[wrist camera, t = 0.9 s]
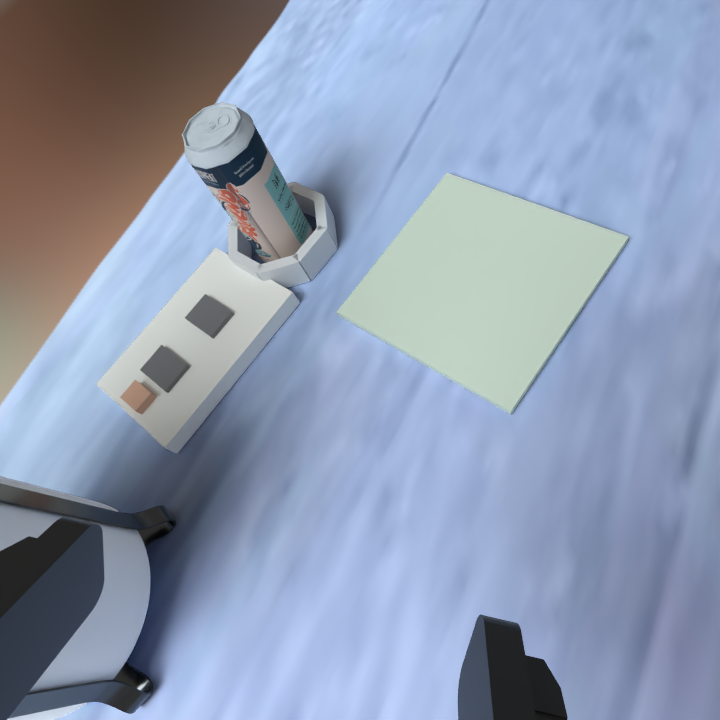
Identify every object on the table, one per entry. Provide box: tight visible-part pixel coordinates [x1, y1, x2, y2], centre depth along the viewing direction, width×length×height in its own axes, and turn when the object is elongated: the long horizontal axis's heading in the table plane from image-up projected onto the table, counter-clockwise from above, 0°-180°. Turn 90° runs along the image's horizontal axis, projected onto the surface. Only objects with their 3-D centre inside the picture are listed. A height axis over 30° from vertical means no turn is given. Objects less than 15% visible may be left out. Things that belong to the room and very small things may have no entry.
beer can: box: [182, 102, 314, 263], centre depth 37 cm, size 5×5×12 cm
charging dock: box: [97, 182, 338, 454], centre depth 39 cm, size 22×9×2 cm, turn 141°
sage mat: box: [337, 173, 629, 415], centre depth 35 cm, size 14×14×1 cm
